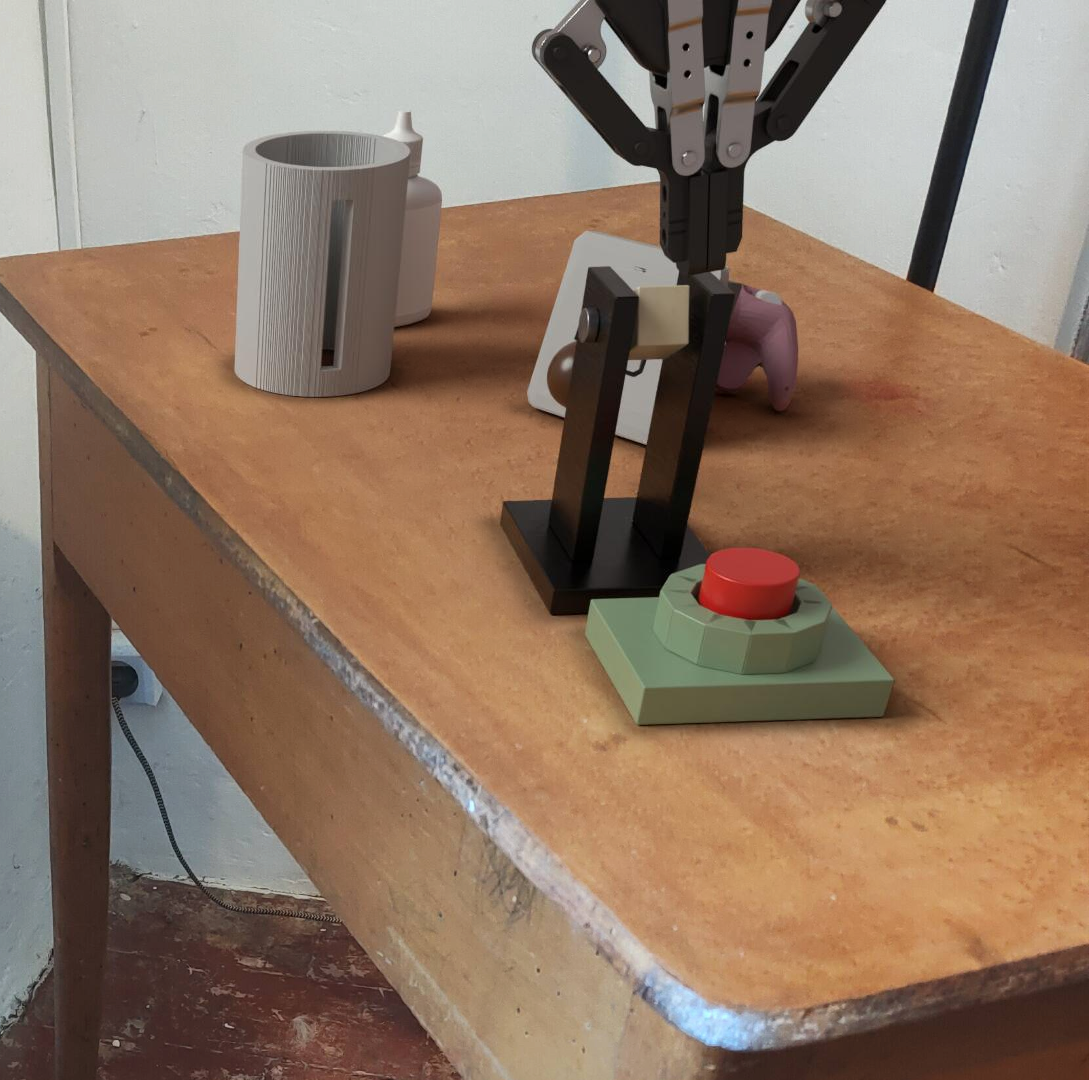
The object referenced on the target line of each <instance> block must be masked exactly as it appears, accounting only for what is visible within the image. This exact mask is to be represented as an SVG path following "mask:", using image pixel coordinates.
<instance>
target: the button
mask: <svg viewBox="0 0 1089 1080" xmlns="http://www.w3.org/2000/svg"><path fill="white" fill-rule="evenodd" d="M710 555H711V556H710V557H709V558H708V559H707V562H706V566H705V571H704V575H703V580H702V584H701V589H700V594H699V604H700V605H701V606H703V607H705V608H707V609H709V610H711V611H713V612H715V613H717V614H719V615H724V616H730V617H735V618H740V619H745V620H778V619H780V618H783V617H786V616H788V615H789V613H790V611H791V608H792V604H793V600H794V596H795V592H796V588H797V584H798V580H799V578H800V576H801V570H800V567H799V565H798V564H797V563H796V562H795V561H794V560H792V559H791V558H789V557H787V556H785V555H783V554H780V553H778V552H774V551H771V550H766V549H762V548H753V547H731V548H725V549H724V548H723V549H721V550H718V551H715V552H714V553H712V554H710Z"/></svg>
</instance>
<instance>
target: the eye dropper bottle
mask: <svg viewBox="0 0 1089 1080" xmlns="http://www.w3.org/2000/svg"><path fill="white" fill-rule="evenodd" d="M382 136H383V137H388V138H391V139H395V140H397V141H400V142H402V143H404V144H405V145H407V146H408V147H409V148H410V151H411V153H410V164H409V174H408V185H407V196H406V207H405V217H404V228H403V239H402V250H401V260H400V271H399V282H398V292H397V303H396V314H395V325H394V328H397V327H403V326H407V325H411V324H415V323H417V322H420V321H422V320H425V319H427V318H428V317H429V315H430V314H431V312H432V307H433V298H434V297H433V296H434V287H435V277H436V268H437V259H438V250H439V249H438V248H439V239H440V228H441V220H442V219H441V218H442V217H441V216H442V206H443V205H442V204H443V194H442V191H441V189H440V187H439V186H438V184H437V183H435V182H434V181H432V180H431V179H428V178H426V177H422V176H420V175H419V174H420V173H421V163H422V154H423V143H424V137H423V136H422V135H421V134H419V133H418V132H416V131H415V130H414V128H413V120H412V111H411V110H410V109H400V110H398V112H397V116H396V121H395V124H394V127H393V129H392V130H391V131H389V132H387V133H385V134H383V135H382Z"/></svg>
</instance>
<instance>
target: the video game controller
mask: <svg viewBox="0 0 1089 1080" xmlns="http://www.w3.org/2000/svg"><path fill="white" fill-rule="evenodd" d="M738 283H741V284H742V285H741V286H742V289H741V291H740V294H739V297H738V300H737V303H736V305H735V308H734V311H733V314H732V316H731V319H730V322H729V327H728V332H727V336H726V341H725V346H724V351H723V356H722V360H721V365H720V370H719V375H718V379H717V384H716V389H715V390H717V391H719V392H722V393H731V392H734V391H737V390H739V389H740V388H741V387H743V386H744V384H746V382H747V381H748V379H749V378H750V377H751V375H752V374H753V372H754V371H755V369H756V368H758V367H760V368H762V370H763V372H764V374H765V378H766V379H765V380H766V385H767V391H768V392H767V393H768V397H769V401H770V404H771V406H772V407H773V409H774V410H775V411H777V412H783V411H784V410H786V408H787V407H788V406H789V405H790V403H791V401H792V399H793V396H794V393H795V392H794V391H795V388H796V383H797V375H798V374H797V373H798V366H799V364H798V363H799V342H798V341H799V340H798V329H797V328H798V327H797V320H796V317H795V315H794V313H793V312H794V311H792V309H791V307H790V306H789V305H787V303H785V302H784V300H783V299H782V297H781V296H780V294H778V293H777V292H774V291H769V290H765V289H760V288H756V287H754V286H750V285H747V284H745V283H742V282H738Z"/></svg>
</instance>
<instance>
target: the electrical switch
mask: <svg viewBox="0 0 1089 1080" xmlns="http://www.w3.org/2000/svg"><path fill="white" fill-rule="evenodd" d="M567 260H568V261H567V263H566V267H565V270H564V273H563V276H562V279H561V283H560V286H559V289H558V292H557V296H556V299H555V302H554V305H553V309H552V310H551V311H552V312H551V314H550V317H549V318H550V319H549V321H548V324H547V327H546V330H545V334H544V337H543V339H542V342H541V343H542V344H541V346H540V349H539V353H538V356H537V359H536V363H535V365H534V369H533V372H532V376H531V379H530V382H529V384H528V387H527V390H526V394H527V395H526V396H527V399H528V404H530V406H531V407H532V408H535V409H538V410H541V411H543V412H547V413H550V414H553V415H556V416H558V417H562V418H564V419H565V412H566V408H565V407H563V406H562V405H560V404H559V403H557V402H556V401H555V400H554V398H553V397H552V396H551V394H550V392H549V389H548V385H547V372H548V368H549V365H550V362H551V360H552V359H553V357H554V356H555V354H556V353H557V352H558V351H559V350H560V349H561V348H563V347H564V346H565V345H567V344H569V343H572V342H574V341H577V335H578V325H579V318H580V314H581V310H582V304H583V297H584V291H585V284H586V278H587V272H588V268H589V267H604V266H610V267H611V268H612V269H613V270H614V271H615V272H616V273H617V274H618V275H619V276H620V277H621V278H622V279H623V280H624V281H625V283H626V284H627V285H628V286H629V287H630V288H631V289H632V290H633V291H634V290H635V289H637V288H638V287H642V286H676V285H677V280H678V274H679V270H678V269H677V267H676V263H673V262H672V261H671V260H669V259H668V258H667V257H666V256H665V255H664V253H663V250H662V248H661V246H658V245H653V244H649V243H647V242H641V241H637V240H634V239H630V238H625V237H622V236H617V235H613V234H609V233H606V232H601V231H598V230H597V231H596V230H585V231H584V232H582V233H581V234H580V235H579V236H577V237H576V238H575V239H574V241H573V245H572V248H571V250H570V254H569V257H568V259H567ZM711 273H712V274H713V275H715V276H716V277H717V278H718V279H719V280H720V281H721V282H722V283H723V284H724V285H726V286H727V287H728V288H729V289H730V290H731V291H732V292H733V293H734V294H735V298H734V303H733V308H732V312H731V316H732V314H733V311H734V308H735V305H736V303H737V300H738V297H739V294H740V291H741V289H742V286H741V285H742V284H743V283H742V282H739V283H738V282H737V281H734V280H730V266H729V265H727V264H726V265H725V268H724V270H718V271H712V272H711ZM741 283H742V284H741ZM730 319H731V317H730ZM662 360H663V359H652V360H628V364H627V370H626V375H625V381H624V387H623V393H622V398H621V404H620V410H619V415H618V421H617V427H616V432H615V436H618V437H621V438H625V439H628V440H631V441H634V442H637V443H639V444H642V445H645V446H646V445H647V439H648V434H649V429H650V423H651V418H652V413H653V407H654V402H655V397H656V391H657V386H658V381H659V376H660V370H661V365H662Z"/></svg>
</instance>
